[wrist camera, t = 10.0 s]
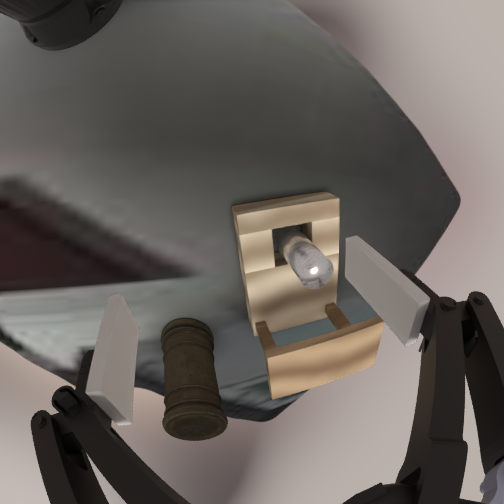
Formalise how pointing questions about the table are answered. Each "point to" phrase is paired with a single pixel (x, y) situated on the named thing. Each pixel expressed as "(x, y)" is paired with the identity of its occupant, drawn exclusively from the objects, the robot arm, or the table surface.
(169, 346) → the container
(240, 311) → the table surface
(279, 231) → the peg
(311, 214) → the socket station
